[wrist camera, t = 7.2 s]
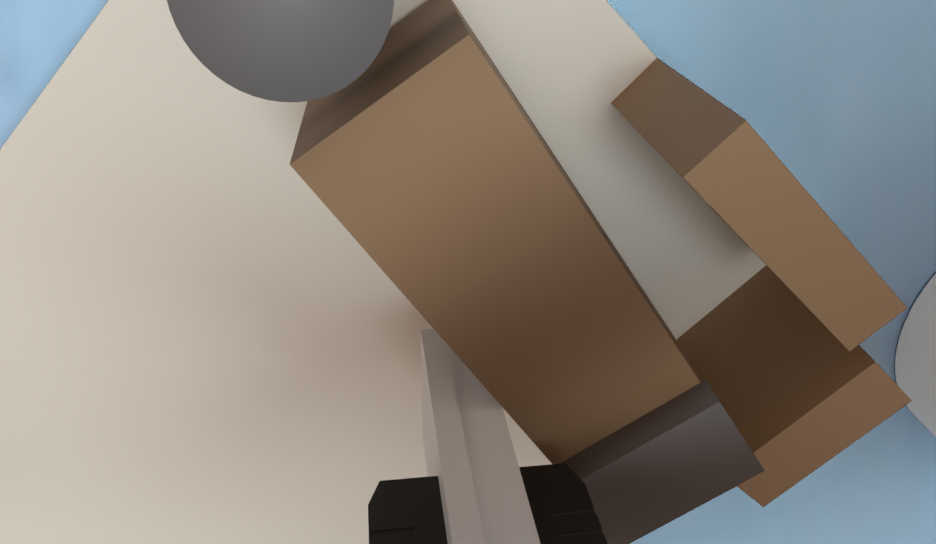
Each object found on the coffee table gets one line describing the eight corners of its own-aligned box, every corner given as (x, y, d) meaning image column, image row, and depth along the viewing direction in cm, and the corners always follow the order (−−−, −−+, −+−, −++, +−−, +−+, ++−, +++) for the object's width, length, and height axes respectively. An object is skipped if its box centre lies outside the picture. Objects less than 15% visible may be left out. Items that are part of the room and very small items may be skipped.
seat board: (848, 282, 19) (1039, 452, 14) (351, 675, 25) (344, 908, 19) (337, -290, 13) (306, -411, 7) (-191, 429, 18) (-442, 681, 13)
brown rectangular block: (306, 90, 14) (279, 184, 10) (448, -16, 13) (481, 39, 9) (558, 398, 18) (611, 553, 14) (675, 329, 17) (765, 470, 13)
